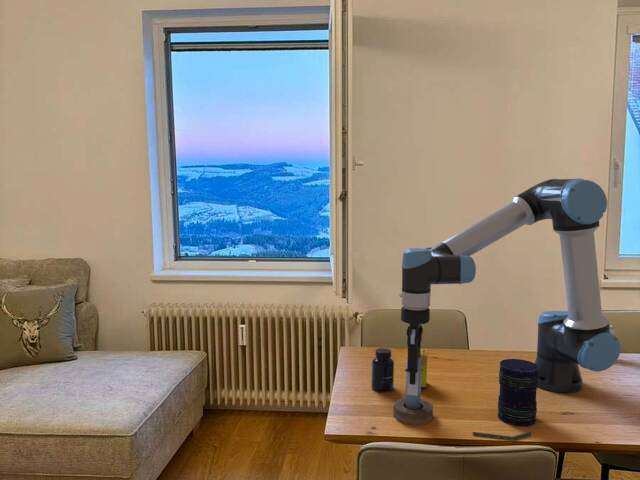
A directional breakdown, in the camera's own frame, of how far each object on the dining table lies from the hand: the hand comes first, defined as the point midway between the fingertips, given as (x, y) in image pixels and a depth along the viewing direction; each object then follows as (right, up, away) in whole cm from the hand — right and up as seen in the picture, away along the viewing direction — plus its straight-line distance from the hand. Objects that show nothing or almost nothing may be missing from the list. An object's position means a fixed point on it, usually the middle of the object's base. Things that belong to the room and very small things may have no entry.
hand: (413, 391), depth 143 cm
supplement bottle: (-6, -5, +20) cm, 22 cm away
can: (+76, -2, +46) cm, 89 cm away
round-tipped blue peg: (0, -5, +1) cm, 5 cm away
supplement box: (+5, -5, +22) cm, 23 cm away
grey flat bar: (+21, -8, -10) cm, 24 cm away
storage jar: (+28, -7, -1) cm, 29 cm away
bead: (0, -7, +1) cm, 7 cm away
